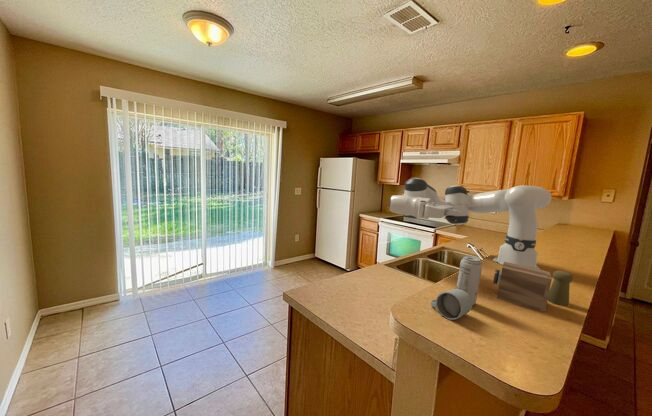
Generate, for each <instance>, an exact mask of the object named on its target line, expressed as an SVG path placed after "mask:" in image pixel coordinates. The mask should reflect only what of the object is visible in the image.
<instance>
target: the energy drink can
mask: <svg viewBox="0 0 652 416" xmlns="http://www.w3.org/2000/svg"><path fill="white" fill-rule="evenodd" d="M481 260H482V259H480V258H478V257H476V256H471V255H463V258H462V259H461V260H460V263H459V270H458V276H457V280H456V281H457V283H456V288H455V289H460V290H464V291H465V292H467V293H468V294H469V295H470V297H471V299H472V307H473V306H474V305H476V302H477V299H478V298H477V297H478V292H479V285H480V278H481V275H482V267H483V265H482V263H481Z"/></svg>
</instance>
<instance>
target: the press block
mask: <svg viewBox="0 0 652 416" xmlns="http://www.w3.org/2000/svg"><path fill="white" fill-rule="evenodd" d="M552 279H553V277H552V276H551V272H550V271H548V270H543V269H541V268H540V269H535V268H531V267H526V266H522V265H517V264H513V263H508V262H504V264H503V265H502V268H501V278H500V283H499V284H498V289H497V290H498V291H497V295H496V299H499V300H502V301H504V302H505V301H506V302H508V303H512V304H515V305H519V306H522V307H527V308H529V309H532V310H536V311H540V312H543V313H546V308H547V302H548V295H549V290H550V288H551V286H552V282H553V281H552Z"/></svg>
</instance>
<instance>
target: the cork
mask: <svg viewBox="0 0 652 416" xmlns="http://www.w3.org/2000/svg"><path fill="white" fill-rule="evenodd" d="M552 279H553V281H552V282H551V285H550V290H549V295H548V300H547V302H549V303H552V304H553V305H557V306H561V307H569V306H570V287H571V286H570V283H572V282H573V280H574V276H573V274H572V273H570V272H568V271H564V270H560V269H559V270H555V271H553V273H552Z"/></svg>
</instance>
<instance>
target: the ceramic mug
mask: <svg viewBox="0 0 652 416" xmlns="http://www.w3.org/2000/svg"><path fill="white" fill-rule="evenodd" d="M430 305H431V308H436V309H437V311H438V313H439V314H440V315H441V317H443V316H444V317H443V318H445V319H446V320H451V321H455V320H458V319H460V318H461V317H462V316H464V315H467V314H468V313H469V312H470V311H471V309H472V307H473V306H472V299H471V297H470V295H469V294H468V293H467V292H465V291H464V290H460V289H456V288H453V289H449V290H446V291H443V292H440V293H439V294H438V295H437V297H436V299H433V300H431V301H430Z"/></svg>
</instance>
